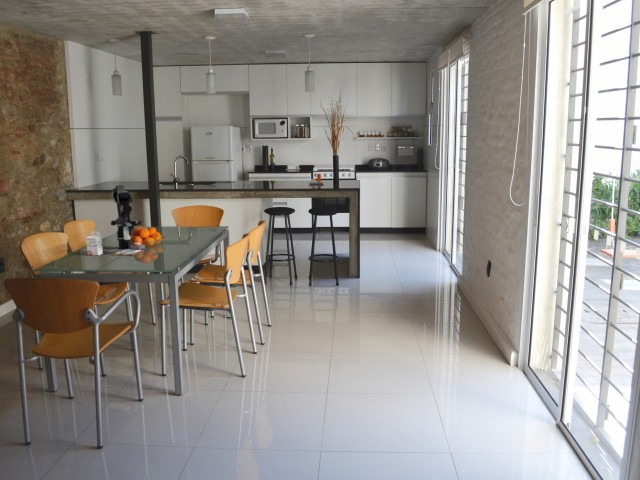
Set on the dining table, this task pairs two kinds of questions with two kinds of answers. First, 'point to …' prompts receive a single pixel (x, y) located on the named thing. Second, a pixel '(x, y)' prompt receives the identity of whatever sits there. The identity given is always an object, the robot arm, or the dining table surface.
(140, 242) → the button
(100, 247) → the ink cartridge box
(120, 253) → the picture board
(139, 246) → the button housing
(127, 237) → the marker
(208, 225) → the dining table surface
